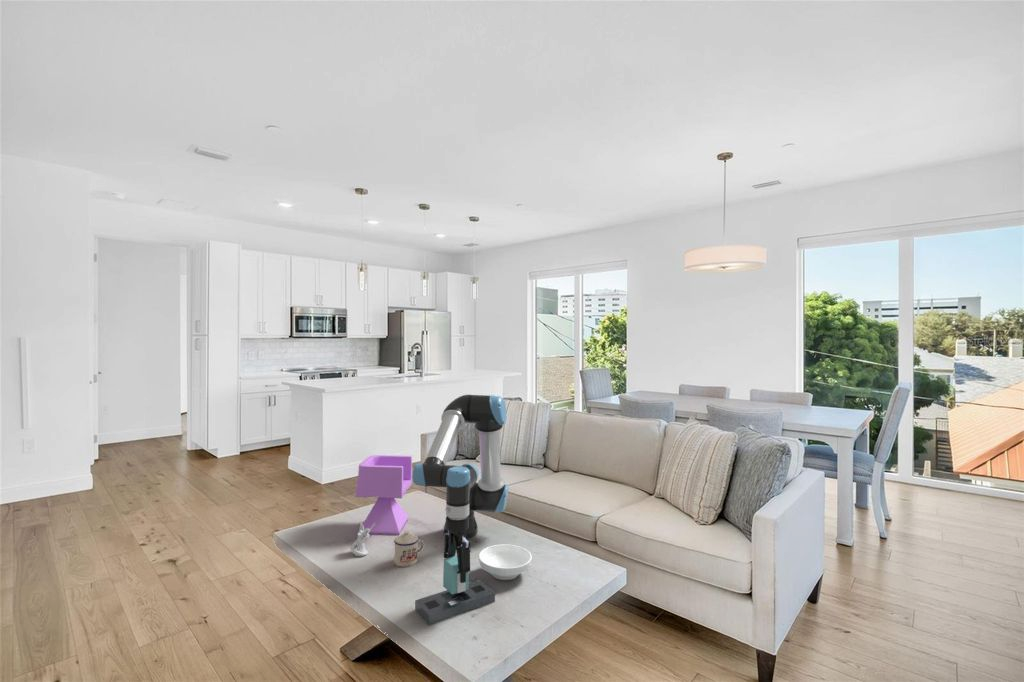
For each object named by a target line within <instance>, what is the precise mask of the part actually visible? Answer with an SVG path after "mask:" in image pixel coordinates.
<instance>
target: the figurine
mask: <svg viewBox="0 0 1024 682" xmlns="http://www.w3.org/2000/svg"><path fill="white" fill-rule="evenodd" d="M363 523H364V522H361V521H360V522H359V529H358V533H357V539H356V540H354V542H353V543H352V545H351V547H350V552H352V553H353V554H355V555H354V556H355V557H364V556H367V555H368V553H369V550H368V549H367V548H366V544H365V541H366V540H367V539H368V538H369V537H370V535H371V534H369V532H370V530H371V529H372V528H373V527H374V525H375V523H374V524H373V525H372V527H371V528H370V529H368V528H367V529H365V530H364V527H363Z"/></svg>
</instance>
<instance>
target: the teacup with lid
mask: <svg viewBox="0 0 1024 682" xmlns="http://www.w3.org/2000/svg"><path fill="white" fill-rule="evenodd" d="M393 542H394V564H395V565H396V566H397V567H403V568H404V567H405V568H407V567H411V566H413V565H415V564H416V563H417V562H418V554H419V553H421V552H422V551H423V549H424V547H425V542H424V540H423V539H419V537H418V536H417V535H416V534H413V533H410V531H409V530H406V531H403V533H400V534H399V535H396V537H394V541H393ZM418 543H421V546H420V547H419V548H418V546H419V545H418Z"/></svg>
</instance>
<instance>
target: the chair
mask: <svg viewBox="0 0 1024 682" xmlns="http://www.w3.org/2000/svg"><path fill="white" fill-rule="evenodd" d="M412 475H413V456H412V455H394V454H393V455H388V454H387V455H386V454H377V455H376V454H374V455H369V456H367V458H365V459H364V460H363V461H361V463H359V465H358V474H357V483H356V489H355V498H372V497H374V498H377V500H375V503H374V505H372V508H371V510H370V511H369V513H368V514H367V517H366V518H365V520H364V521H363V522H362V523H363V527H364V530H365V529H367V528H368V529H370V528H371V527H372V525H373V524H374V523H375V525H374V527H373V528H372V529H371V530H370V532H369V534H370V535H378V536H379V535H386V536H391V535H392V536H399V535H401V532H403V528H404V527H405V525H406V523H408V520H409V516H408V515H407V513H406V511H404V509H403V508H402V507H401V505H400V504H399V503H398V501H397V500H396V499H403V497H404V496H405V494H406V492H407V491H408V489H410V488H411V486H412V484H413V477H412Z"/></svg>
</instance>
